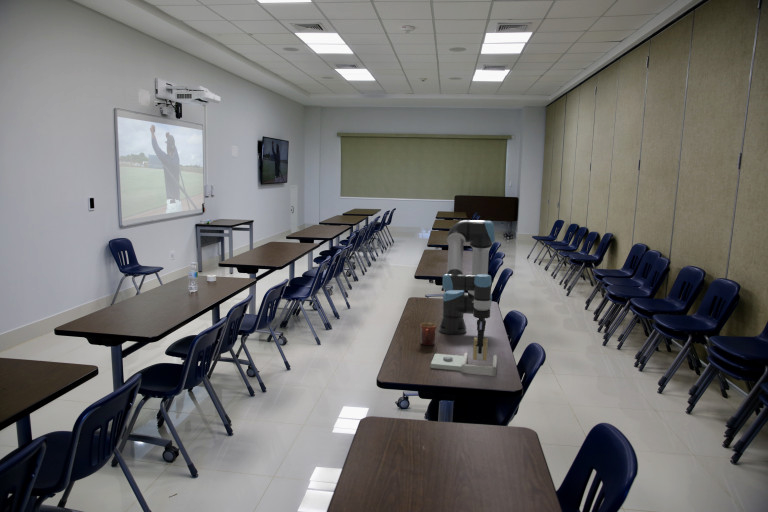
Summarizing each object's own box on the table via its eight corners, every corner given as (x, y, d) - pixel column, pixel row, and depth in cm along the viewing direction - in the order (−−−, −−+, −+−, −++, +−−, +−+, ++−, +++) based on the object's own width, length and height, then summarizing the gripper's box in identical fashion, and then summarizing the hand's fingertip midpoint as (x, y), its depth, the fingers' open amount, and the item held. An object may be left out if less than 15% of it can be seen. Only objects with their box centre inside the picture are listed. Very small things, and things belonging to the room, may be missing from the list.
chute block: (473, 355, 235) (474, 337, 233) (486, 357, 233) (487, 338, 232) (473, 359, 230) (473, 340, 229) (486, 360, 229) (487, 341, 227)
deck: (435, 356, 243) (435, 350, 242) (496, 362, 236) (496, 355, 236) (429, 369, 227) (430, 362, 226) (495, 376, 220) (496, 368, 219)
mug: (420, 340, 268) (420, 321, 266) (437, 341, 266) (437, 322, 264) (417, 347, 256) (417, 328, 255) (434, 349, 254) (435, 329, 253)
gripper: (474, 303, 238) (473, 350, 241) (472, 312, 220) (470, 363, 224) (491, 304, 236) (489, 352, 239) (489, 313, 219) (487, 365, 222)
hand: (480, 357), depth 232 cm, fingers closed on chute block, 5 cm apart
